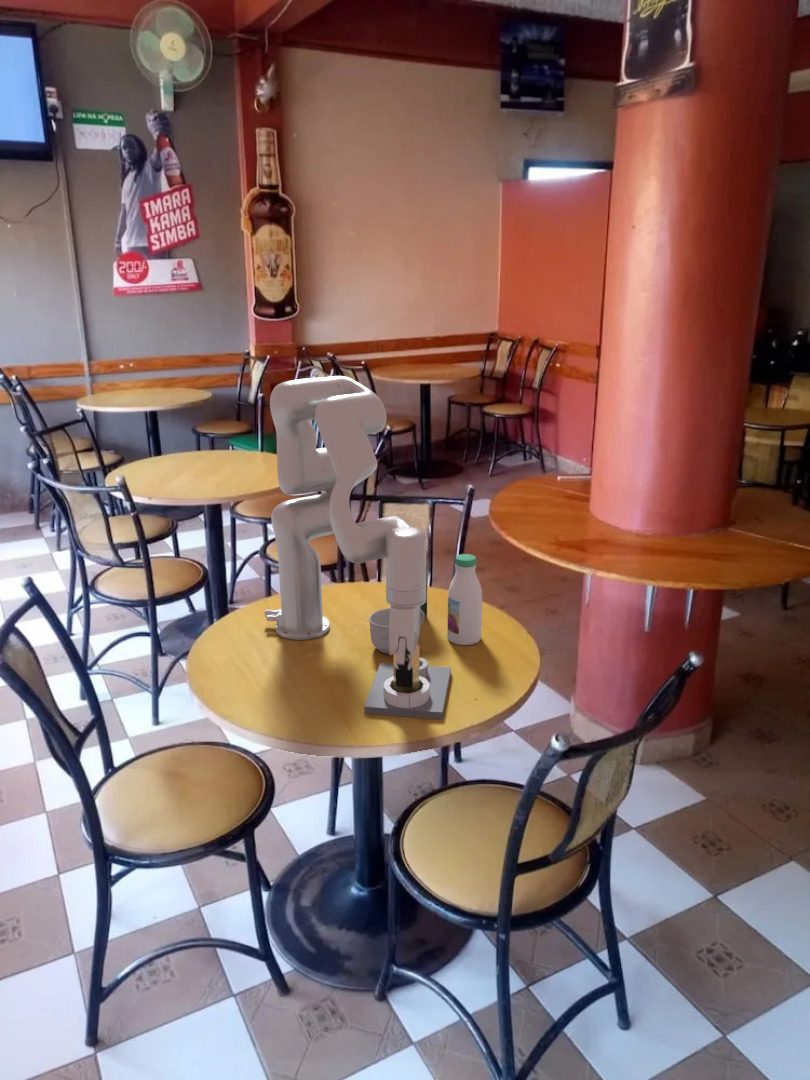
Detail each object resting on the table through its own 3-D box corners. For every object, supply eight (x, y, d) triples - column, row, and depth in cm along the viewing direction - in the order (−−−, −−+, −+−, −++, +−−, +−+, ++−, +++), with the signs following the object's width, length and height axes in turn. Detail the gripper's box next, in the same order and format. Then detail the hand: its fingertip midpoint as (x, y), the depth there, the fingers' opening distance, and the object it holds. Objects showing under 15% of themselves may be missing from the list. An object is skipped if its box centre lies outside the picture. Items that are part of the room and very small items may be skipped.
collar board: (364, 713, 157) (363, 695, 156) (380, 669, 174) (380, 652, 173) (442, 719, 155) (442, 700, 154) (450, 673, 172) (451, 656, 171)
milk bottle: (481, 632, 191) (483, 551, 184) (480, 647, 184) (483, 563, 177) (448, 630, 192) (449, 550, 185) (446, 645, 184) (447, 562, 178)
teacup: (382, 663, 176) (382, 630, 174) (361, 643, 185) (360, 611, 183) (438, 650, 182) (439, 617, 180) (415, 631, 191) (415, 599, 189)
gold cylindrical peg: (391, 697, 158) (391, 650, 155) (395, 684, 163) (395, 639, 159) (417, 699, 157) (417, 652, 154) (420, 686, 162) (420, 640, 159)
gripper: (393, 575, 162) (394, 658, 168) (378, 610, 146) (379, 700, 152) (431, 577, 161) (430, 660, 167) (420, 612, 145) (420, 703, 151)
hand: (406, 678), depth 159 cm, fingers closed on gold cylindrical peg, 4 cm apart
